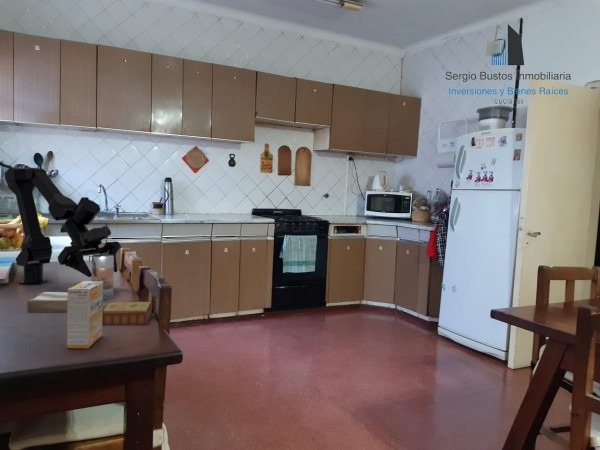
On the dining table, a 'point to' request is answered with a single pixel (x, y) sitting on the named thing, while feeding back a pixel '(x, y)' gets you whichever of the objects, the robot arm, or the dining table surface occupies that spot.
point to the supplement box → (84, 314)
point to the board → (49, 302)
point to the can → (104, 273)
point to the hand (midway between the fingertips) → (104, 273)
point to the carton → (126, 313)
